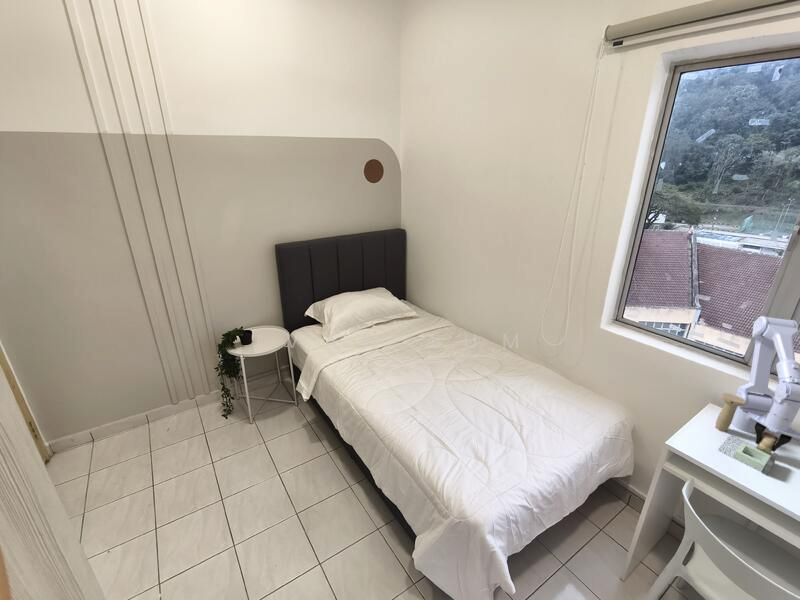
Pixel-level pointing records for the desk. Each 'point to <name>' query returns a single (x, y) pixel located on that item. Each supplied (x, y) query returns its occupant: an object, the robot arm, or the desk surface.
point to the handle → (728, 411)
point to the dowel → (767, 442)
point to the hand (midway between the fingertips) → (765, 446)
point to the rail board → (768, 465)
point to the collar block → (751, 460)
